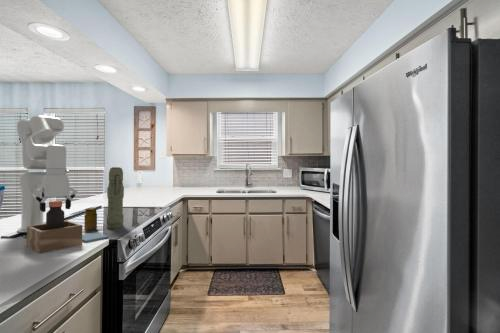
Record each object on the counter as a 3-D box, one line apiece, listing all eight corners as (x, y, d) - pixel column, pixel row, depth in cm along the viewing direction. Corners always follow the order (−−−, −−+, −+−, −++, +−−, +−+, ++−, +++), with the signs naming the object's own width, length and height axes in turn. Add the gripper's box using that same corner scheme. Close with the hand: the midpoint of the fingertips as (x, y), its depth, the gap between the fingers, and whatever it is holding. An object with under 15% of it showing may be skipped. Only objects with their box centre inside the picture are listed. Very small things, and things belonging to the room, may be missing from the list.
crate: (26, 246, 124) (27, 226, 123) (67, 238, 137) (67, 220, 137) (39, 253, 115) (40, 231, 115) (82, 244, 128) (82, 225, 128)
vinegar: (47, 244, 127) (47, 200, 127) (64, 242, 131) (65, 200, 130) (44, 248, 121) (44, 202, 121) (62, 246, 125) (63, 202, 124)
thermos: (119, 224, 171) (120, 167, 170) (126, 227, 162) (127, 167, 162) (104, 225, 165) (105, 167, 165) (109, 229, 156) (110, 167, 156)
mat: (74, 238, 138) (74, 236, 138) (95, 234, 147) (95, 232, 147) (85, 242, 131) (85, 240, 131) (107, 238, 140) (107, 236, 140)
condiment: (87, 228, 158) (87, 207, 158) (102, 228, 159) (103, 207, 159) (80, 231, 151) (81, 209, 151) (97, 231, 152) (97, 209, 151)
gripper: (73, 172, 135) (72, 207, 135) (29, 172, 121) (29, 211, 121) (80, 172, 130) (80, 208, 130) (36, 172, 116) (36, 213, 116)
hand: (55, 210), depth 125 cm, fingers open, 9 cm apart
